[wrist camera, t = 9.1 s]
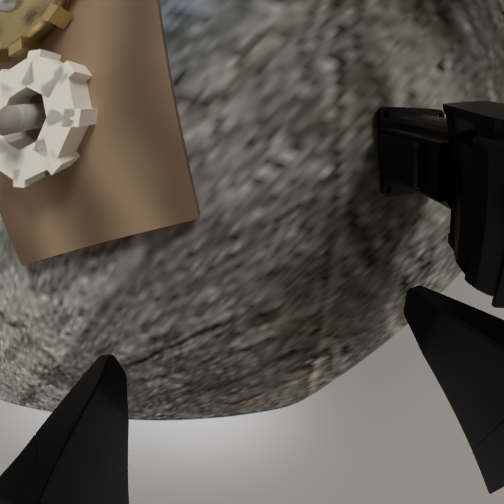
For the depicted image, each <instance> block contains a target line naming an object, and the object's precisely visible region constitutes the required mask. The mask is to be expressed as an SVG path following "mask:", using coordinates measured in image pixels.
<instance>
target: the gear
mask: <svg viewBox="0 0 504 504" xmlns="http://www.w3.org/2000/svg"><path fill="white" fill-rule="evenodd" d="M71 1H72V0H0V63H7V62H8V60H9V58H10V57H16V58H22V59H26V58H27V56H28V52H29V51H32V50H38V49H40V42H41V41H42V40H44V39H45V38H46V37H47V36H48V35H49V34H50V33H51V32H52V31H53V30H54V29H55V28H56V27H60V28H62V29H65V28H66V26H67V25H68V23H69V22H70V20H71V19H72V18H73V16H74V15H73V14H71V13H70V12H68V11H67V10H68V8H69V6H70V4H71Z"/></svg>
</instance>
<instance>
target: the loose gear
mask: <svg viewBox="0 0 504 504" xmlns="http://www.w3.org/2000/svg"><path fill="white" fill-rule="evenodd" d="M60 58H61V55H60V54H57V53H53V52H50V51H46V50H43V49H38V50H32V51H29V52H28V56H27V58H26V59H25V60H23V61H22V62H20V63H18V64H17V65H15V66H14V67H12V68H11V69H1V71H0V110H1V109H2V108H3V107H4V106H8V105H20V104H29V102H30V100H31V98H32V97H33V96H34V95H36V94H38V93H40V94H42V97H43V103H44V108H45V114H46V120H45V122H44V124H43V126H42V129H41V131H40V134H39V136H38V139H37V141H36V140H34V139H32V138H31V137H29V136H27V132H26V131H22V132H18V133H13V134H9V135H5V136H2V135H0V171H1V172H2V173H4V174H5V175H7V176H8V177H10V178H11V179H13V187H20V188H25V187H27V186H29V185H30V184H32V183H34V182H36V181H38V180H39V179H41V178H43V177H45V171H46V170H48V172H49V173H50V174H51V175H53V174H55V173H57V172H59V171H61V170H63V169H65V168H67V167H69V166H71V165H72V164H73V163H74V162H75V161H76V160H77V159H78V158H79V157H80V155H79V153H78V152H77V149H78V146H79V144H80V142H81V140H82V138H83V136H84V134H85V132H86V130H87V128H88V126H89V125H94V124H96V121H97V114H98V109H93V108H92V106H91V101H90V95H89V90H88V84H87V81H88V80H89V79H90V78H91V77H92V75H91V73H90V72H89V71H88V69H87V68H86V66H84V65H81V64H78V63H74V62H71V61H68V60H67V61H66V62H65V63H62V62H60Z"/></svg>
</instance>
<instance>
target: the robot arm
mask: <svg viewBox="0 0 504 504" xmlns="http://www.w3.org/2000/svg"><path fill="white" fill-rule="evenodd" d="M443 110H444V113H443V112H442V111H441V110H437V109H424V108H404V107H380V108H379V109H378V111H377V118H378V132H379V137H378V150H379V171H380V190H381V193H382V194H383V195H385V196H394V195H400V194H406V193H413V192H419V193H421V194H423V195H425V196H427V197H429V198H431V199H433V200H435V201H436V202H438V203H440V204H442V205H444V206H445V207H447V208H449V209H451V222H450V233H449V234H448V243H449V245H450V246H451V248H452V249H453V251H454V255H455V259H456V263H457V264H458V265H459V267H460V268H461V270H462V271H463V272H464V274H465V280H466V282H468V283H469V284H470V285H472V286H473V287H474V288H476V289H477V290H479V291H481V292H483V293H485V294H486V295H489V296H493V300H492V306H493V307H497V308H504V104H503V103H497V102H489V101H476V102H459V103H447V104H443ZM384 111H385V112H386V116H385V117H384V115H383V112H384ZM438 114H439V117H438ZM444 114H446V118H444ZM387 187H388V191H386V188H387ZM404 315H405V317H406V320H407V322H408V324H409V326H410V328H411V330H412V332H413V334H414V336H415V338H416V341H417V343H418V345H419V347H420V349H421V351H422V353H423V355H424V357H425V359H426V360H427V362H428V364H429V365H430V367H431V369H432V371H433V373H434V375H435V376H436V378H437V380H438V382H439V384H440V386H441V387H442V389H443V391H444V393H445V395H446V397H447V399H448V401H449V403H450V405H451V407H452V408H453V411H454V412H455V414H456V416H457V419H458V421H459V423H460V425H461V427H462V429H463V431H464V433H465V436H466V438H467V440H468V442H469V444H470V447H471V449H472V451H473V454H474V456H475V459H476V461H477V463H478V466H479V468H480V471H481V473H482V476H483V478H484V481H485V484H486V486H487V489H488V492H489V493H490V494H491V493H493V492H495V491H497V490H499V489H500V488H502V487H504V320H502V319H500V318H497V317H495V316H493V315H490V314H488V313H485V312H483V311H481V310H479V309H476V308H474V307H471V306H469V305H467V304H464V303H462V302H460V301H457V300H454V299H452V298H450V297H447V296H445V295H443V294H440V293H438V292H435V291H433V290H430V289H428V288H425V287H423V286H415V287H413V288H410V289H409V290H408V291H407V296H406V300H405V305H404ZM0 504H129V496H128V402H127V378H126V374H125V371H124V370H123V368H122V367H121V365H120V364H119V362H118V361H117V359H116V358H115V357H114V356H113V355H111V354H109V355H101V356H99V357H98V359H97V360H96V361H95V362H94V363H93V364H92V366H91V367H90V368H89V369H88V370H87V371H86V373H85V374H84V375H83V376H82V377H81V378H80V380H79V381H78V382H77V383H76V384H75V386H74V387H73V388H72V389H71V390H70V392H69V393H68V394H67V395H66V396H65V398H64V399H63V400H62V401H61V403H60V404H59V405H58V406H57V408H56V409H55V410H54V411H53V412H52V414H51V415H50V416H49V417H48V419H47V420H46V421H45V423H44V424H43V425H42V426H41V428H40V429H39V430H38V431H37V433H36V435H34V436H33V438H32V439H31V440H30V442H29V443H28V444H27V446H26V447H25V448H24V449H23V451H22V452H21V453H20V455H19V456H18V457H17V458H16V459H15V460H14V461H13V462H12V464H11V465H10V466H9V467H8V468H7V469H6V470H5V471H4V472H3V474H2V475H1V476H0Z"/></svg>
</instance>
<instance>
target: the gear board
mask: <svg viewBox="0 0 504 504" xmlns="http://www.w3.org/2000/svg"><path fill="white" fill-rule="evenodd" d="M67 11H68V12H70V13H71V14H73V15H74V16H73V18H72V19H71V20H70V22H69V23H68V25H67V26H66V28H65V29H62V28H60V27H56V28H55V29H54V30H53V31H52V32H51V33H50V34H49V35H48V36H47V37H46V38H45V39H44V40H42V41H41V42H40V49H43V50H46V51H50V52H53V53H57V54H60V55H61V58H60V62H62V63H65V62H66V61H67V60H68V61H71V62H74V63H78V64H81V65H84V66H86V68H87V69H88V71H89V72H90V73H91V75H92V77H91V78H90V79H89V80H88V81H87V84H88V90H89V95H90V101H91V106H92V108H93V109H98V114H97V121H96V124H94V125H89V126H88V128H87V130H86V132H85V134H84V136H83V138H82V140H81V142H80V144H79V146H78V149H77V152H78V153H79V155H80V157H79V158H78V159H77V160H76V161H75V162H74V163H73V164H72V165H71V166H69V167H67V168H65V169H63V170H61V171H59V172H57V173H55V174H53V175H51V174H50V173H49V172H48V170H46V171H45V177H43V178H41V179H39V180H38V181H36V182H34V183H32V184H30V185H29V186H27V187H25V188H20V187H13V179H11V178H10V177H8V176H7V175H5V174H4V173H2V172H1V171H0V212H1V215H2V218H3V221H4V223H5V226H6V229H7V231H8V234H9V236H10V239H11V241H12V243H13V246H14V248H15V250H16V253H17V255H18V257H19V259H20V261H21V263H22V266H23V265H26V264H29V263H32V262H36V261H39V260H42V259H46V258H49V257H53V256H56V255H59V254H63V253H66V252H70V251H73V250H77V249H81V248H84V247H88V246H92V245H95V244H99V243H103V242H107V241H110V240H114V239H118V238H122V237H126V236H130V235H134V234H138V233H142V232H146V231H150V230H154V229H158V228H163V227H167V226H171V225H175V224H180V223H184V222H188V221H193V220H197V219H199V216H200V210H199V206H198V201H197V197H196V193H195V188H194V184H193V180H192V175H191V171H190V166H189V162H188V157H187V152H186V148H185V143H184V138H183V133H182V128H181V124H180V119H179V114H178V108H177V103H176V98H175V93H174V87H173V82H172V76H171V71H170V65H169V59H168V53H167V47H166V41H165V35H164V28H163V22H162V15H161V8H160V1H159V0H72V1H71V4H70V6H69V8H68V10H67ZM23 60H25V59H22V58H16V57H10V58H9V60H8V62H7V63H0V71H1V69H11V68H12V67H14V66H15V65H17V64H18V63H20V62H22V61H23ZM45 120H46V114H45V108H44V103H43V97H42V94H40V93H38V94H36V95H34V96H33V97H32V98H31V100H30V102H29V104H20V105H8V106H4V107H3V108H2V109H1V110H0V135H2V136H5V135H9V134H13V133H18V132H22V131H26V132H27V136H29V137H31V138H32V139H34V140H36V141H37V139H38V136H39V134H40V131H41V129H42V126H43V124H44V122H45Z"/></svg>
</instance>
